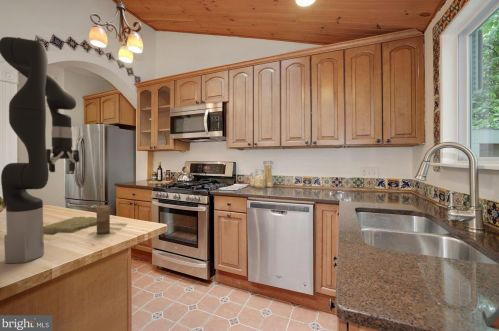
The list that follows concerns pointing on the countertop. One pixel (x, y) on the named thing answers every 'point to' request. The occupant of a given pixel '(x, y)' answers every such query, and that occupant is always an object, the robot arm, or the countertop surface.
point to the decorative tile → (70, 225)
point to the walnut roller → (103, 219)
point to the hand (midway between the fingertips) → (62, 171)
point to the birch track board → (113, 229)
